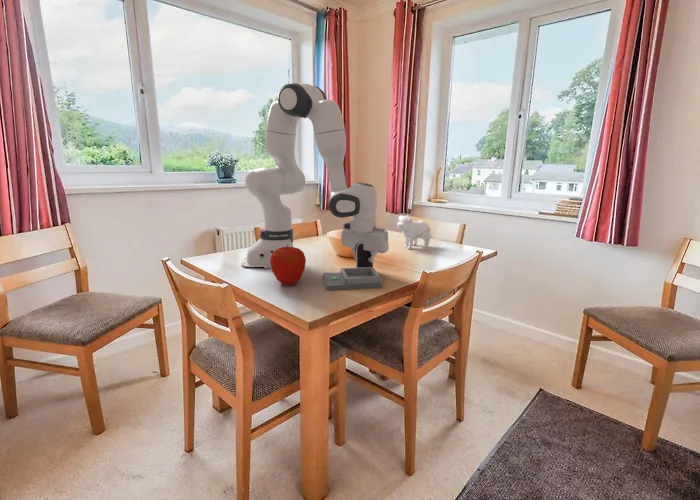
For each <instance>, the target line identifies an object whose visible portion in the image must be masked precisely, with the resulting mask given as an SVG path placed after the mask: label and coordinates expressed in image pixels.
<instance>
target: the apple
mask: <svg viewBox="0 0 700 500" xmlns="http://www.w3.org/2000/svg"><path fill="white" fill-rule="evenodd" d="M306 262H307V258H306V256H305V253H304V251H303V250H302V249H300V248H297V247H295V246H293V247H288V245H287V247H281V248H278V249H276V250H275V251H274V252H273V253H272V256H271V260H270V263H271V268H270V269H271V271H272V273H273V275H274V277H275V279H276V280H277V282H279V283H280V284H281V285H283V286H285V285H286V286H285V287H290V285H291V286H293V285H296V283H297V282H299V281H300V280H301V278H302V276H303V273H304V272H305V267H306Z"/></svg>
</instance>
